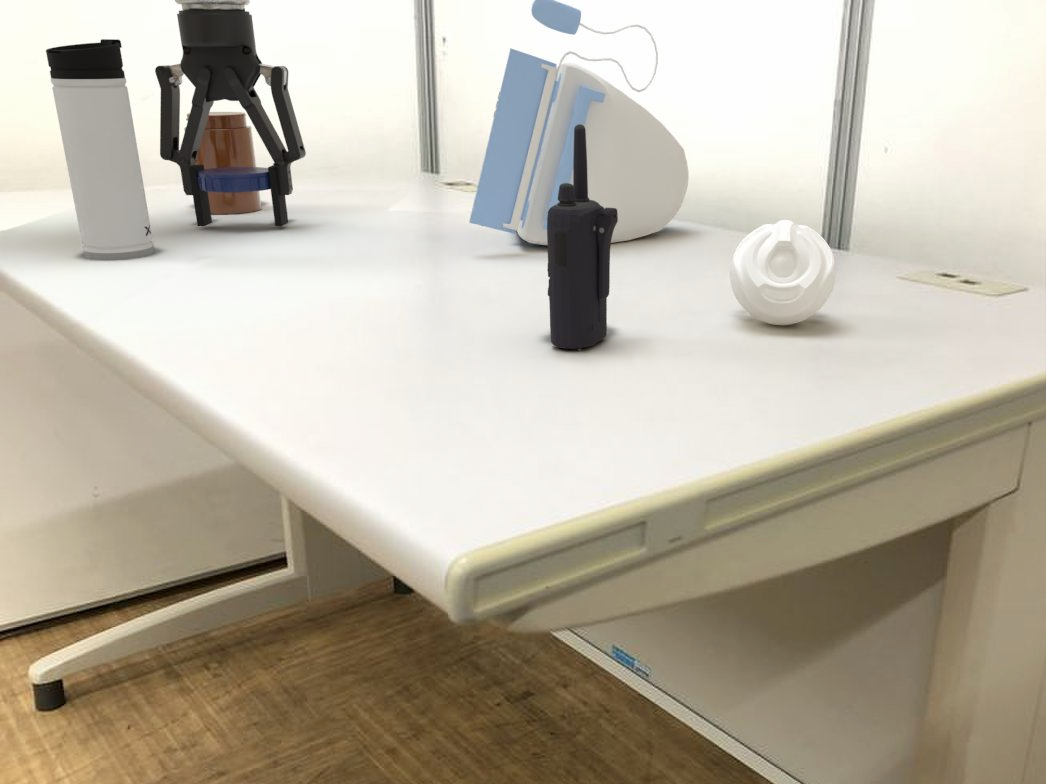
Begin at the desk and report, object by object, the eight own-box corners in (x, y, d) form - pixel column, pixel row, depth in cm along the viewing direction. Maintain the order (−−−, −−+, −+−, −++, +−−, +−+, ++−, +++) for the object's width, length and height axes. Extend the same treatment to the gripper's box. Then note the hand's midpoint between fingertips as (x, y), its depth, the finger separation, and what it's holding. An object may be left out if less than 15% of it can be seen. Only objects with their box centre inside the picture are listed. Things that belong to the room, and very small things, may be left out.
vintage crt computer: (526, -17, 99) (481, -12, 113) (468, 229, 105) (432, 204, 119) (753, 67, 110) (686, 62, 124) (688, 284, 116) (631, 256, 131)
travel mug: (172, 257, 105) (137, 39, 98) (112, 268, 100) (70, 39, 92) (132, 250, 108) (95, 39, 101) (71, 261, 103) (28, 38, 95)
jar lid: (284, 183, 124) (282, 167, 123) (264, 192, 117) (261, 174, 116) (213, 183, 124) (211, 166, 123) (188, 192, 116) (186, 174, 116)
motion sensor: (725, 333, 80) (729, 228, 77) (731, 309, 86) (735, 213, 84) (833, 337, 79) (841, 232, 76) (830, 313, 86) (837, 216, 83)
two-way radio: (574, 331, 80) (571, 121, 74) (629, 338, 78) (630, 124, 72) (541, 350, 75) (535, 127, 69) (599, 357, 73) (598, 129, 68)
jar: (187, 214, 131) (172, 115, 126) (208, 205, 138) (195, 111, 134) (251, 214, 131) (238, 115, 127) (269, 205, 138) (257, 111, 134)
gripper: (320, 9, 117) (342, 219, 126) (128, 8, 116) (163, 219, 125) (303, 8, 110) (327, 229, 119) (99, 6, 109) (138, 229, 118)
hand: (243, 224), depth 122 cm, fingers closed on jar lid, 8 cm apart
